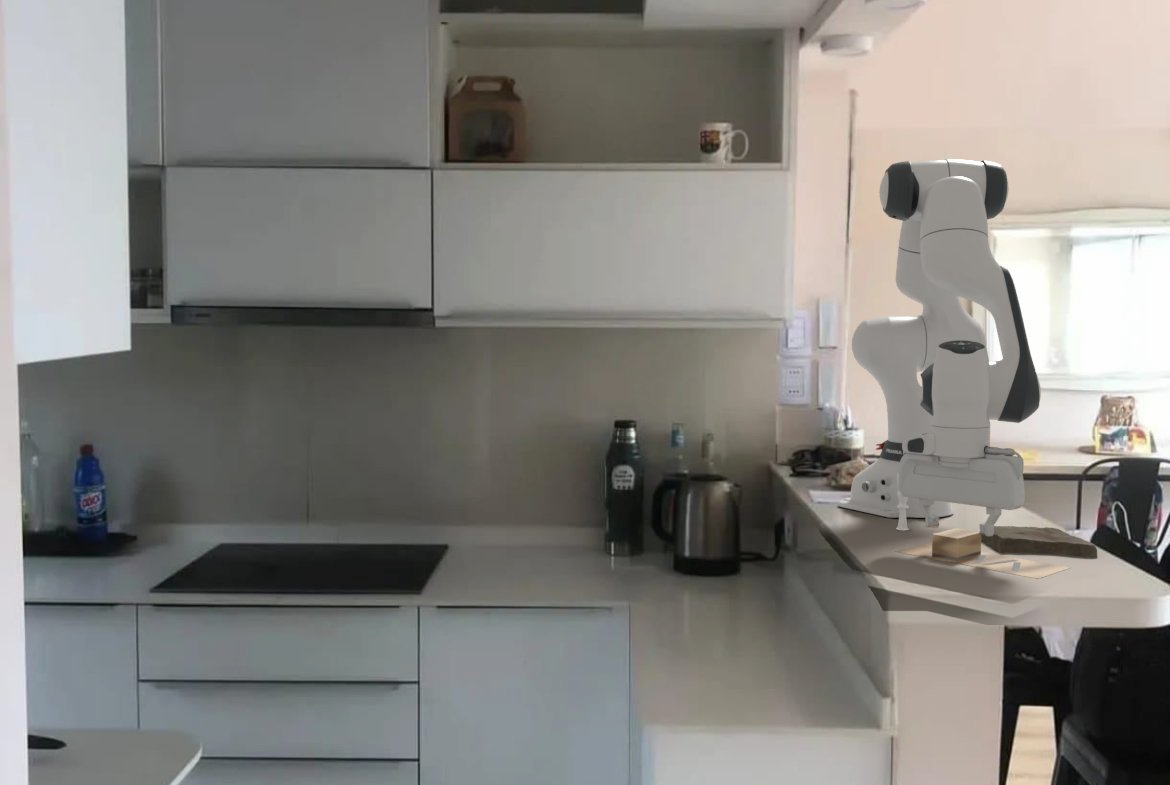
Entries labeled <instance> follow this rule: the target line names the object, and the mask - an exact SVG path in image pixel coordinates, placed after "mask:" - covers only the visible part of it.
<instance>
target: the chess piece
mask: <svg viewBox="0 0 1170 785" xmlns="http://www.w3.org/2000/svg"><path fill="white" fill-rule="evenodd" d="M897 495H898V498H899V501H900V505H897V508H900V515H899V518H898V522H897V524H898V525H897V527H896V528H895V529H896V531H901V532H906V531H909V530H910V528H909V527H908V522H907V517H906V508H909V506H908V505H906V502H907V499H908V497H904V496H902V494H901V493H900V492H898V493H897Z"/></svg>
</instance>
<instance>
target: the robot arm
mask: <svg viewBox="0 0 1170 785" xmlns="http://www.w3.org/2000/svg"><path fill="white" fill-rule="evenodd" d="M1009 190H1010V188H1009V180H1008V175H1007V172H1006V170H1005V169H1004V167H1003V166H1002V164H1000V163H997V162H993V161H989V160H981V161H975V160H967V159H955V158H954V159H953V158H945V159H939V160H937V159H934V160H921V161H920V160H919V161H912V162H910V160H906V161H899V162H895V163H892V164H891V165H889V166H888V167H887V169H886V170H885V172H884V174H883V177H882V179H881V182H880V185H879V190H878V191H879V192H878V193H879V200H880V204H881V206H882V211H883V212H884V213H885V214H886V215H887V216H888V217H889V218H891V219H895V220H898V221H902V223H901V228H900V232H899V240H898V249H897V259H896V261H897V262H896V269H895V270H896V273H895V283H896V287H897V289H898V290H899V291H900V292H901V293H902V294H903V295H904V296H906V297H907V298H908V299H911V300H913V301H915V302H917V303H919V304H921V305H922V314H920V315H919V314H918V315H884V316H880V317H873V318H870V319H865V320H863V321H861V322H860V323H859V324H858V326H857V327H856V328H855V330H854V333H853V335H852V339H851V350H852V354H853V356H854V359H855V361H856V362H857V364H859V365H860V366H861V367H862V369H864V370H866V371H867V372H868V373H869V374H870V375H871V376H872V377H873V378H874V379H875V380H876V381H877V383H878V385H879V386H880V388H881V390H882V393H883V395H884V398H885V402H886V411H887V440H885V441H883V442H882V443H877V444H875V446H877V448H875V450H876V451H879V450H881V452H880V455H879V458H877V460H876V461H873V463H871V464H870V465H868V466H867V467H865V468H864V469H863V470H861V471H860V472H858V473H857V474H856V475H855V476H854V478H853V480H852V484H851V488H850V494H849V495H850V496H849V497H846V498H842V499H840V500H839V501H838V502H839V503H838V507H841V508H844V509H849V510H855V511H858V512H864V513H867V514H871V515H877V516H881V517H886V518H894V519H895V518H898V519H899V515H900V508H897V505H900V501H899V498H898V495H897V493H898V492H900V493H901V494H902V496H904V497H908V499H907V502H906V505H908V506H909V508H906V518H924V519H925V521H924V522H925V523H924V526H925V527H926V528H930V529H937V528H939V526H940V518H942V517H948V516H951V515H953V514H954V511H953V510H954V509H953V507H952V504H959V505H968V506H974V507H982V508H985V509H986V510H985V514H986V515H989V516H988V517H987V519H986V521H985V522H984V523H979V531H978V532H979V533H980V535H983V536H993V534H994V526H995V524H996V523H997V521H998V520H999V518H1000V517H1001V515H1002V510H1006V511H1013V510H1018V509H1021V508H1022V506H1023V505H1024V503H1025V501H1026V496H1025V481H1024V475H1023V474H1024V470H1025V469H1024V467H1025V466H1024V464H1025V462H1024V458H1023V456H1022V455H1021V454H1020V453H1019V452H1017V451H1015V449H1014V448H1008V447H1006V448H1000V447H995V446H991V421H997V422H1004V423H1005V422H1007V423H1015V424H1019V423H1021V422H1023V421H1025V420H1027V419H1028V418H1029V417H1031V416H1032V415H1033V414H1034V413H1035V412H1037V410H1038V409H1039V407H1040V402H1041V396H1042V394H1041V392H1042V389H1041V384H1040V379H1039V377H1038V374H1037V371H1036V367H1035V364H1034V361H1033V358H1032V354H1031V349H1030V346H1029V345H1030V344H1029V341H1028V336H1027V331H1026V329H1025V324H1024V318H1023V315H1022V309H1021V305H1020V301H1019V297H1018V294H1017V288H1016V286H1015V283H1014V279H1013V277H1012V275H1011V273H1010V271H1009V269H1008V268H1006V267H1004V266H1002V265H1000V264H999V263H998V262H997V261H996V259H995V257H994V255H993V253H992V251H991V249H990V242H989V224H988V220H991V219H994V218H996V217H997V216H998V215H1000V213H1002V212H1003V210H1004V208H1005V205H1006V203H1007V200H1008V197H1009ZM960 298H963V299H965V300H968V301H970V302H972V303H973V302H974V303H976V304H977V305H980V306H981V307H982V308H985V310H987V311H988V312H989V313H990V314H991V316H992V317H993V320H994V322H995V328H996V332H997V338H998V342H999V346H1000V351H1001V355H1002V358H1001V360H994V361H991V360H990V359H989V353H988V348H987V337H986V333H985V330H984V328H983V327H982V325H981V324H980V323H979V322H978V321H977V320H976V319H975V318H973V317H972V316H971V315H970V314H969V313H968V312H967V310H966V309H965V308H964V306H963V305H962V303H961V300H960ZM989 360H990V361H989ZM919 372H921V373H920V378H921V385H920V383H919V380H918V375H917V374H918V373H919Z"/></svg>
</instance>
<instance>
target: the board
mask: <svg viewBox="0 0 1170 785" xmlns="http://www.w3.org/2000/svg"><path fill="white" fill-rule="evenodd" d="M894 552H895V553H898V554H906V555H910V556H916V557H920V558H927V559H931V560H936V561H941V562H947V563H951V564H952V563H953V564H958V565H962V566H969V567H974V568H978V569H985V570H989V571H993V572H1000V573H1005V574H1010V575H1016V576H1020V577H1021V576H1022V577H1026V578H1031V579H1037V580H1039V579H1043V578H1045V577H1049V576H1051V575H1054V574H1058V573H1060V572H1063V571H1066V570H1070V567H1069V566H1062V565H1058V564H1051V563H1046V562H1041V561H1036V560H1029V559H1024V558H1018V557H1013V556H1006V555H1001V554H996V553H990V552H983V551H981V554H979V555H976V556H972V557H969V558H965V559H962V560H958V561H956V560H950V559H945V558H940V557H935V556H932V542H926V543H922V544H918V545H914V546H910V547H907V548H903V549H900V550H899V549H898V550H895V551H894Z"/></svg>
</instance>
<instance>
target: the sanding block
mask: <svg viewBox="0 0 1170 785" xmlns="http://www.w3.org/2000/svg"><path fill="white" fill-rule="evenodd" d="M931 539H932V540H931V541H932V542H931V543H932V556H935V557H940V558H945V559H950V560H956V561H958V560H962V559H965V558H969V557H972V556H976V555H979V554H981V552H982V539H981V535H980V533H979V531H975V530H969V529H964V528H951V529H948V530H942V531H940V532H936V533H935V532H934V533H932V537H931Z"/></svg>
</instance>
